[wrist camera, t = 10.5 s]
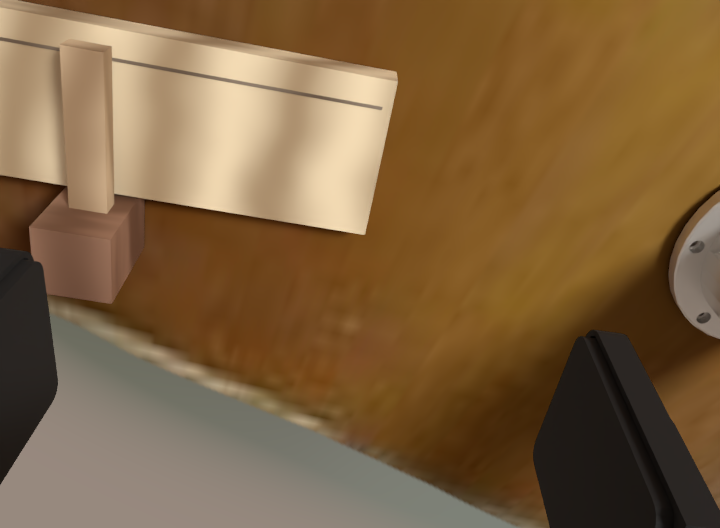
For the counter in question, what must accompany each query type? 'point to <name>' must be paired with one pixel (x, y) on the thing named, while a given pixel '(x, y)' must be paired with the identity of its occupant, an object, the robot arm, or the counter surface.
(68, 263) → the brown handled block
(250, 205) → the board
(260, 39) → the counter surface
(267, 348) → the counter surface
